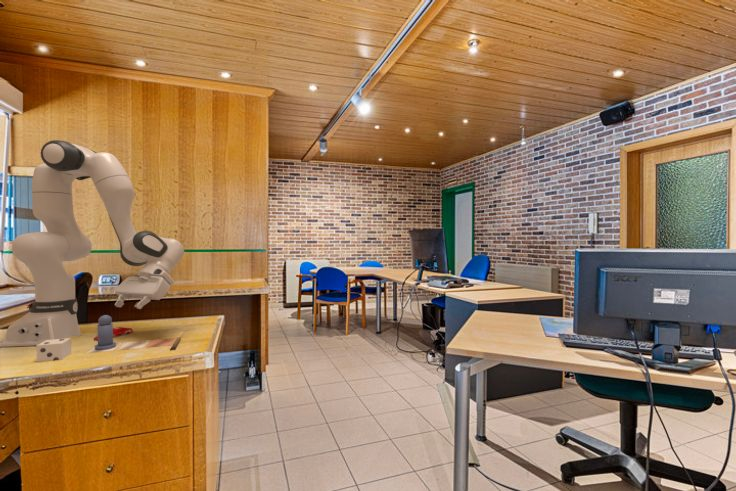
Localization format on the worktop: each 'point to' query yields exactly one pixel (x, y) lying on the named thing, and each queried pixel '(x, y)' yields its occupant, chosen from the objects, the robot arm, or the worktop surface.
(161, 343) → the board
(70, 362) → the worktop surface
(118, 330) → the race car
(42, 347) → the die
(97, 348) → the pawn
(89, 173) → the robot arm
